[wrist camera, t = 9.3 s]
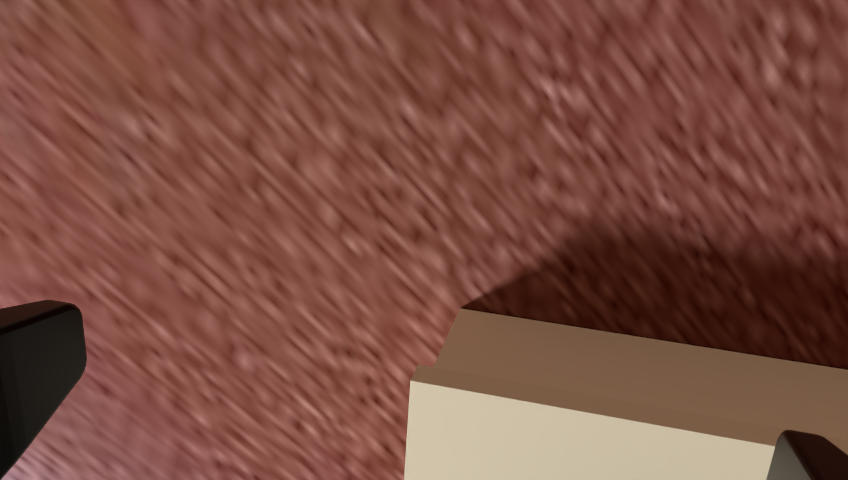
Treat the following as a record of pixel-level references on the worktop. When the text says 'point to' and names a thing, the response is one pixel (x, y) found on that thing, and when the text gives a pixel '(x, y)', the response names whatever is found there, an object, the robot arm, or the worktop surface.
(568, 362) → the box
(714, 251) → the worktop surface
